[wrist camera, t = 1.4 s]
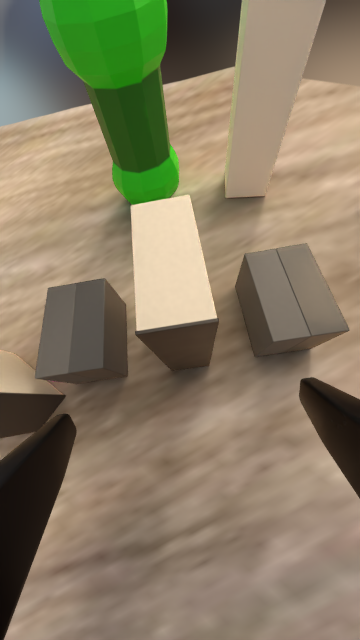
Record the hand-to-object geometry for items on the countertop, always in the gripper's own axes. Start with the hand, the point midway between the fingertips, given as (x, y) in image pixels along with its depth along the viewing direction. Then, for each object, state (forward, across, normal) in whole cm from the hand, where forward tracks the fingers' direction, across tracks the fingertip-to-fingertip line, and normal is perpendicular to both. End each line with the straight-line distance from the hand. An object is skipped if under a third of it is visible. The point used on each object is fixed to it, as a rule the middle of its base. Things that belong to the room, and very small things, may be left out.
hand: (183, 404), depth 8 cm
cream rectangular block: (+15, 0, +4) cm, 16 cm away
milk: (+31, -13, -12) cm, 36 cm away
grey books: (+15, 0, +4) cm, 16 cm away
